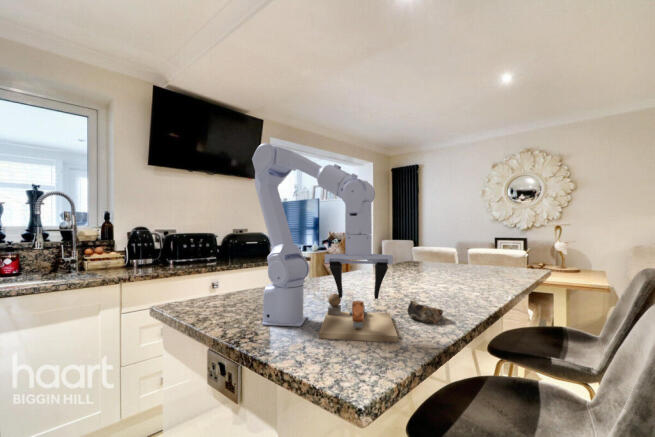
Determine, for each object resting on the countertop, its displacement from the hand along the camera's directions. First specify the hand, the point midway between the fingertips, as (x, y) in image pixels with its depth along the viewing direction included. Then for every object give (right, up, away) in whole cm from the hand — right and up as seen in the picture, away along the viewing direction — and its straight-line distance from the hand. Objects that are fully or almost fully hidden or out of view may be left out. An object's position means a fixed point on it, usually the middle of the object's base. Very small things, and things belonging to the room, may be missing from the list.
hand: (358, 297), depth 63 cm
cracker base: (0, -8, +5) cm, 9 cm away
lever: (+1, -6, +7) cm, 10 cm away
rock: (+18, -9, +12) cm, 24 cm away
